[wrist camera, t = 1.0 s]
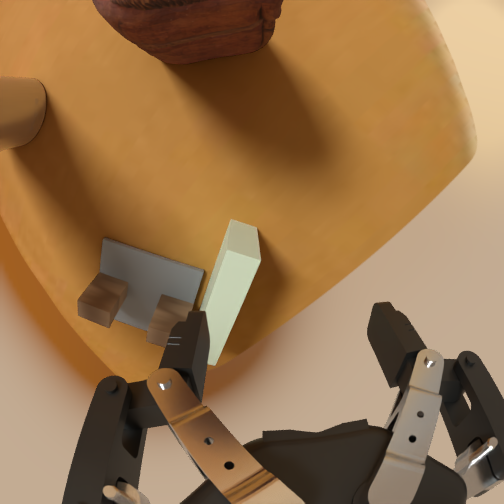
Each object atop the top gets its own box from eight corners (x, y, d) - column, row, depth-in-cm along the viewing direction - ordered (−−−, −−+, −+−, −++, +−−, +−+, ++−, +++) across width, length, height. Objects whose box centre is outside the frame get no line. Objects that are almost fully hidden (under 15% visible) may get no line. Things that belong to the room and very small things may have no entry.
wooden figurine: (261, 7, 20) (283, -101, 4) (269, 57, 23) (307, -31, 6) (150, 27, 20) (62, -47, 4) (155, 76, 23) (50, 31, 7)
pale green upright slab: (197, 315, 36) (189, 359, 28) (231, 218, 30) (226, 249, 23) (219, 321, 36) (215, 365, 29) (256, 227, 31) (261, 260, 24)
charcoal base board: (99, 310, 35) (97, 313, 35) (105, 237, 30) (102, 239, 30) (182, 339, 37) (182, 342, 37) (204, 269, 33) (203, 272, 32)
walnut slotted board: (98, 286, 33) (78, 315, 27) (99, 272, 32) (77, 299, 26) (189, 317, 35) (181, 352, 29) (193, 303, 34) (185, 338, 28)
